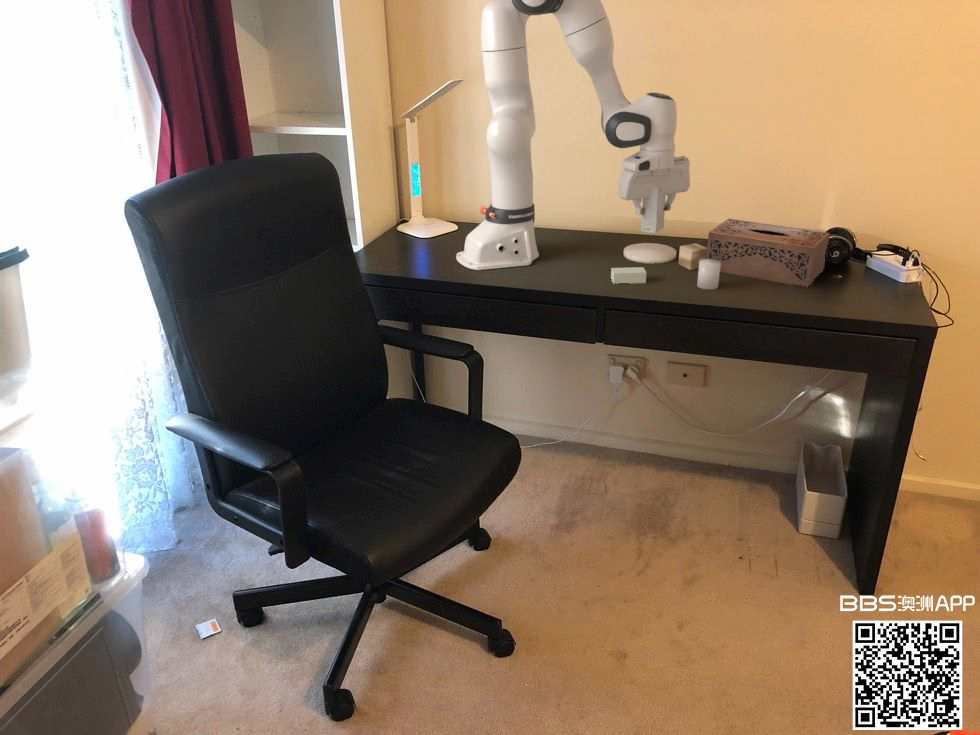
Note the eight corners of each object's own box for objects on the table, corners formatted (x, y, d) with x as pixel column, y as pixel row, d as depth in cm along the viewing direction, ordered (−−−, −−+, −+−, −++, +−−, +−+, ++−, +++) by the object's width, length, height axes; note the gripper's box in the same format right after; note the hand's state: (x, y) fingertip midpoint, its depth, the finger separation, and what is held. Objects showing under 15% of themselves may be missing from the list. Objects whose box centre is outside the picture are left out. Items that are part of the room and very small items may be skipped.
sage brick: (613, 284, 198) (613, 273, 197) (610, 279, 202) (611, 268, 200) (645, 284, 198) (646, 272, 197) (642, 278, 202) (643, 267, 200)
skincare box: (656, 234, 210) (659, 188, 205) (640, 231, 212) (642, 186, 207) (664, 227, 215) (667, 182, 210) (648, 225, 217) (651, 181, 212)
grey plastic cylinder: (705, 290, 192) (708, 267, 190) (692, 284, 196) (695, 261, 194) (722, 287, 194) (725, 263, 191) (709, 281, 198) (711, 257, 196)
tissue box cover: (823, 271, 204) (829, 233, 199) (807, 288, 193) (814, 248, 189) (724, 254, 217) (728, 218, 213) (704, 269, 206) (708, 232, 202)
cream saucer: (642, 266, 209) (642, 262, 208) (613, 251, 220) (613, 247, 220) (686, 258, 214) (687, 254, 213) (656, 244, 225) (656, 240, 225)
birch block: (690, 270, 206) (691, 251, 204) (678, 264, 210) (679, 246, 208) (705, 267, 208) (707, 248, 206) (693, 261, 212) (695, 243, 210)
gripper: (682, 152, 212) (678, 204, 218) (616, 161, 205) (614, 214, 211) (697, 157, 207) (692, 209, 213) (630, 166, 199) (627, 220, 206)
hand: (653, 212), depth 212 cm, fingers closed on skincare box, 7 cm apart
